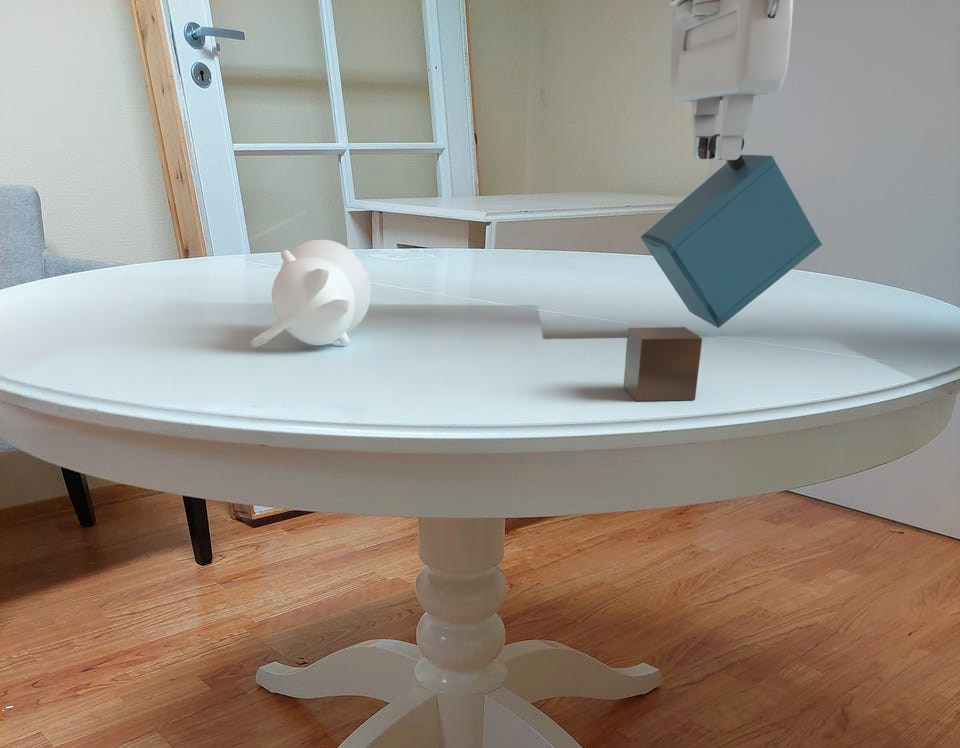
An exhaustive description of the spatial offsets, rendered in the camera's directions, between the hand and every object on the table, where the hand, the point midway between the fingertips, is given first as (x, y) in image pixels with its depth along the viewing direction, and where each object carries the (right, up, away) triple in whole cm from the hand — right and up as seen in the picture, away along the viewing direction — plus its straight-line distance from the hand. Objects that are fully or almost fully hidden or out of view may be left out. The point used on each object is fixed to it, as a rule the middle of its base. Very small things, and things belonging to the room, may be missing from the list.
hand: (714, 159), depth 78 cm
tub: (-3, -8, +4) cm, 9 cm away
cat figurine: (-35, -17, -2) cm, 39 cm away
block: (-9, -26, -18) cm, 32 cm away
